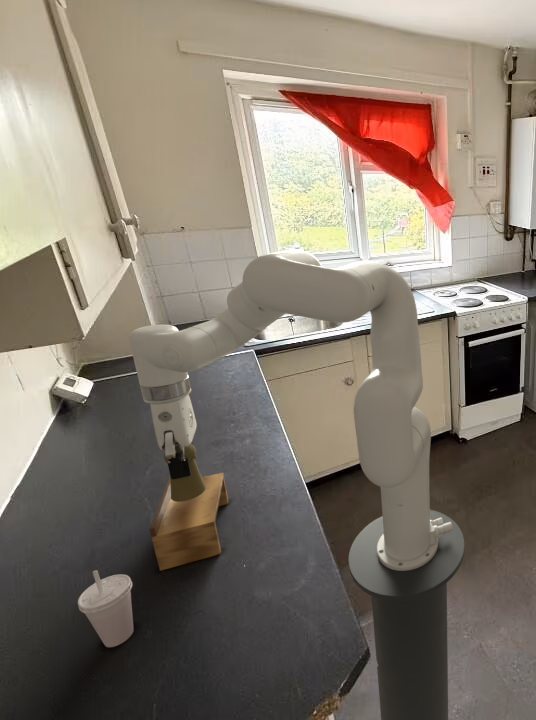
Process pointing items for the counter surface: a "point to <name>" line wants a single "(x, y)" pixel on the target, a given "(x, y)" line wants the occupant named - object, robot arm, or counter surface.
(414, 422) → the robot arm
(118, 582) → the smoothie
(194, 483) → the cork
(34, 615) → the counter surface
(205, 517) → the spice shelf
